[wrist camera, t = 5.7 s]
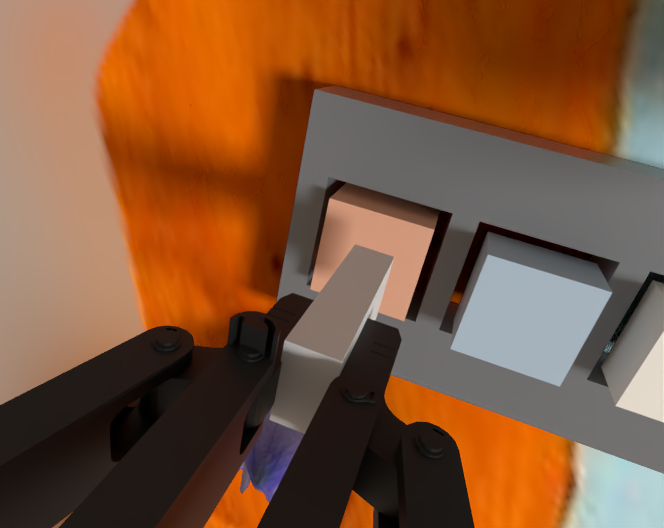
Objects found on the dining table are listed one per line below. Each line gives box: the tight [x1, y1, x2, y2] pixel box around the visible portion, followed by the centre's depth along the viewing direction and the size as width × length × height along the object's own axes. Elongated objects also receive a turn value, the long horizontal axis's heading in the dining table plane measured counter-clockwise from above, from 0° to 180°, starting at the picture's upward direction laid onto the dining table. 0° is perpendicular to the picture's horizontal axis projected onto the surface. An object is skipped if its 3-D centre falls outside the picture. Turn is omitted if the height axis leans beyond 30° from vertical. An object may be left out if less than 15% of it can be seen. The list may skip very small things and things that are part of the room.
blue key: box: [450, 232, 612, 387], centre depth 19 cm, size 4×4×3 cm
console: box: [276, 85, 664, 474], centre depth 21 cm, size 12×21×3 cm, turn 78°
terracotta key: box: [310, 183, 440, 321], centre depth 21 cm, size 4×4×3 cm
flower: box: [238, 407, 304, 502], centre depth 26 cm, size 9×9×10 cm
